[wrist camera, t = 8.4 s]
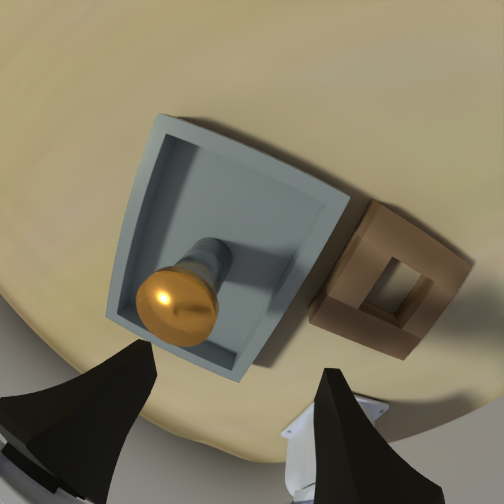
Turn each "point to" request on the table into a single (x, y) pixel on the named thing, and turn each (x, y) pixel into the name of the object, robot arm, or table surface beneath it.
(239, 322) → the tray
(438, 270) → the holder
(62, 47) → the table surface
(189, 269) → the pin
